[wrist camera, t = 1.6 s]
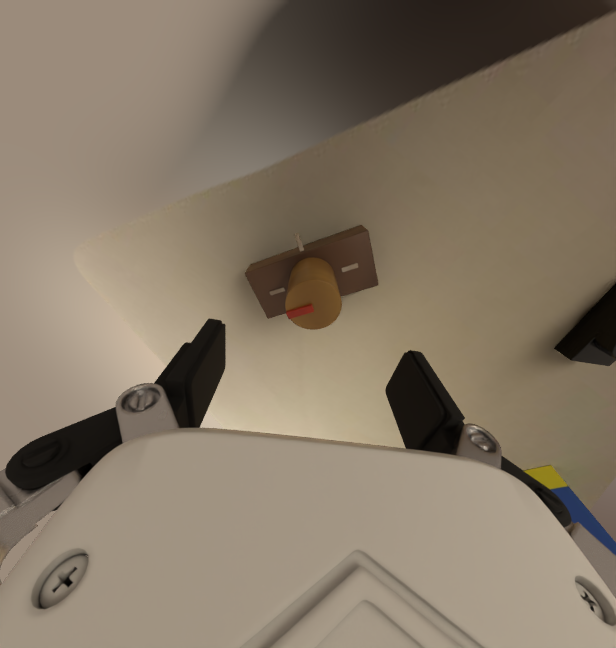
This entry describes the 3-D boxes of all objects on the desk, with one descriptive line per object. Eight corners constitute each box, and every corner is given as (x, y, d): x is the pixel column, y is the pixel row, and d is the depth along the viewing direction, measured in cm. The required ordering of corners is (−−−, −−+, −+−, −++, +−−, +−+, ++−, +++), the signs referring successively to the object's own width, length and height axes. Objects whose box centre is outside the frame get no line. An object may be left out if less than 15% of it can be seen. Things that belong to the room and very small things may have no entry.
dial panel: (358, 205, 19) (364, 209, 17) (375, 289, 24) (382, 301, 21) (242, 248, 21) (234, 256, 19) (277, 318, 26) (274, 332, 23)
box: (547, 512, 55) (752, 801, 29) (486, 522, 58) (622, 788, 33) (550, 465, 43) (900, 881, 17) (473, 481, 46) (671, 848, 21)
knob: (327, 250, 19) (333, 273, 15) (339, 292, 21) (348, 323, 17) (283, 266, 20) (275, 292, 15) (299, 304, 22) (296, 338, 17)
